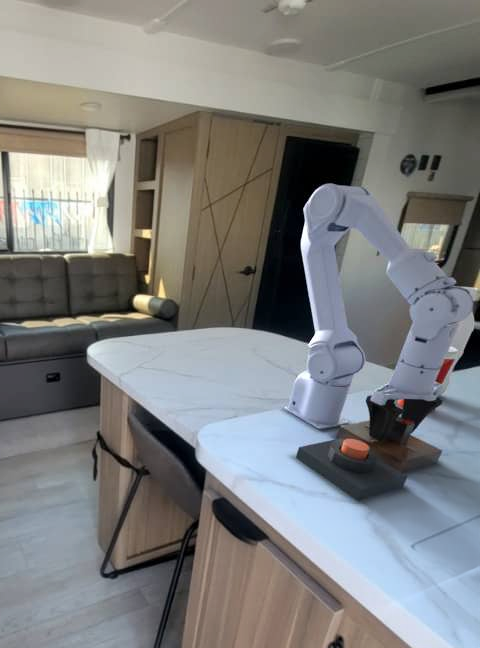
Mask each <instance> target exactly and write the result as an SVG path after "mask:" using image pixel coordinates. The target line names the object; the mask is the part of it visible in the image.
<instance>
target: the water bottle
mask: <svg viewBox="0 0 480 648" xmlns="http://www.w3.org/2000/svg"><path fill="white" fill-rule="evenodd" d="M462 287H463V288H466V289H467V290H469V291H470V295H471V296H472V298H473V302H475V301H476V297H477V296H476V295H477V293H478V291H479V288H477V287H471V286H462ZM455 324H459V326H458V328H457V330H456V333H455V335H454V337H453V341H452V343H451V347H454V348H456V349H457V350H458V352H457V355H458V358H456V359H455V360H454V362H453V364H452V366H451V367H450V369H449V371H448V373H447V375H446V377H445V379H444V381H443V383H442V384H443V387H442V389H441V392H440V394H439V395H436V396H437V397H440V396H442V395H443V394H445V392H446V391H447V389H448V387H449V385H450V382H451V376H452V374H453V373H452V372H453V371H454V368H455V366H456V364H457V363H458V361H459V360H460V358H461V357H462V356H463V354H464V350H465V348H466V345H467V344H468V342H469V339H470V337H471V334H472V332H474V329H475V326H476V324H475V317H474V312H473V310H472V312H471V313H470V314H469V316H468V317H467V318H465V319H464V320H462V321H460V322H458V323H455ZM451 325H454V324H451ZM447 326H450V325H447Z"/></svg>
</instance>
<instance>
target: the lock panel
mask: <svg viewBox="0 0 480 648" xmlns="http://www.w3.org/2000/svg"><path fill="white" fill-rule="evenodd" d="M369 425H370V419H369V420H363V421H359V422H354V423H348V424H346V425H341V426H339V428H338V431H337V434H336V439H339V438H342V439H344V440H346V439H355V440H359V441H362V442H364V443H366V444H367V445H368V446H369V448H370V450H372V451H373V452H374V453H375V454H376V455H377V456H378V459H379V460H380V461H382V462H384V463H385V464H387V465H389V466H391V467H392V468H394V469H396V470H398V471H399V472H401V473H403V472H406V471H410V470H415V469H417V468H423V467H425V466H429V465H433V464H436V463H438V461H439V459H440V457H441V455H442V453H443V450H442V449H440V448H438V447H436V446H434V445H432V444H430V443H428V442H426V441H424V440H422V439H420V438H418V437H416V436H414V435H411V434H410V437H409V439H408V441H407V443H406V444H403V445H397V444H395V443H393V442H392V441H390V440H388V439H386V438H384V439H383V440H381V441H379V440H377V439H375V438H373V437H371V436H369Z"/></svg>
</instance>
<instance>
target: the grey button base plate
mask: <svg viewBox="0 0 480 648" xmlns="http://www.w3.org/2000/svg"><path fill="white" fill-rule="evenodd" d="M343 442H344V439H342V438H339V439H338V438H334V439H331V440H330V439H329V440H326V441H320V442H317V443H312V444H307V445H303V446H299V447H298V449H297V452H296V456H295V458H296V460H298V461H300V462H302V463H303V464H304V465H306V466H307V467H309V468H310V469H311V470H313V471H314V472H315V473H317V474H318V475H320V476H321V477H322V478H324V479H326V480H327V481H328V482H330V483H331V484H333V485H334V486H335V487H336V488H338V489H340V490H341V491H342V492H344V493H345V494H347V495H348V496H350V497H351V498H353V499H354V500H355V501H357V502H358V501H361V500H365V499H368V498H371V497H374V496H378V495H381V494H385V493H388V492H392V491H395V490H400V489H402V488H404V486H405V484H406V481H407V479H408V475H407V474H405V473H403V472H399V471H398V470H396V469H394V468H392V467H391V466H389V465H387V464H385V463H384V462H382V461H380V460H379V459H378V456H377V455H376V454H375V453H374V452H373V451H372V450H370V449H369V451H368V454H367V457H366V458H365V459H356V458H353V457H350V456H347V455H345V454H344V453H342V452H341V448H342V445H343Z"/></svg>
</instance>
